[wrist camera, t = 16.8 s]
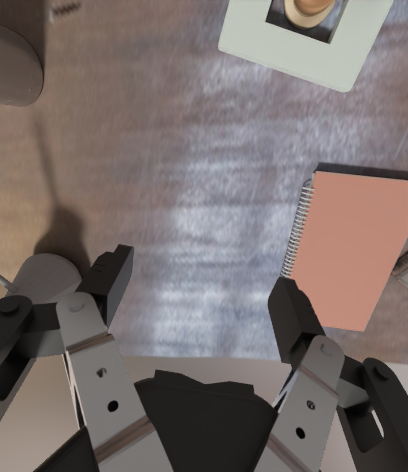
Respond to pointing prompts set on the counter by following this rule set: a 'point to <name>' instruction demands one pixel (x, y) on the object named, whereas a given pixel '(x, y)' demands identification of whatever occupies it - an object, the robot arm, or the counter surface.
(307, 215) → the notebook
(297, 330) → the robot arm
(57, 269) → the coffee pot
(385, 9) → the notched board
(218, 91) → the counter surface
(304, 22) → the bobbin
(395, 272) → the box
